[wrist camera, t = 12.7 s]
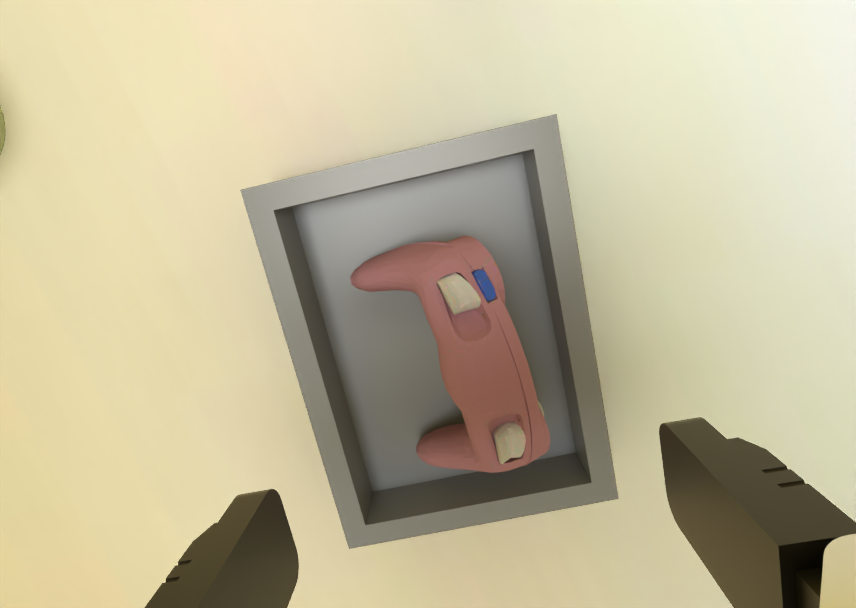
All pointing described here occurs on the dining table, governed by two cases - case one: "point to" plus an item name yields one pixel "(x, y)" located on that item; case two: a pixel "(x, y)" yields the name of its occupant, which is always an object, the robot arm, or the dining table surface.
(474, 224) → the charcoal tray
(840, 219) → the dining table surface
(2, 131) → the sage cylinder
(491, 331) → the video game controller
